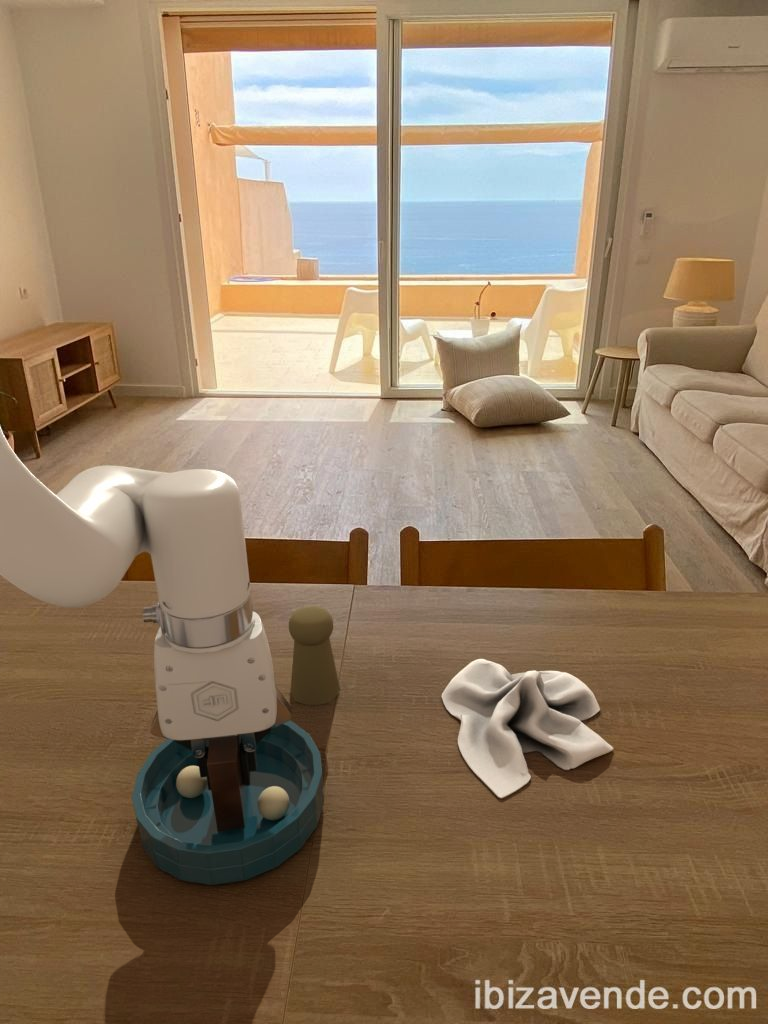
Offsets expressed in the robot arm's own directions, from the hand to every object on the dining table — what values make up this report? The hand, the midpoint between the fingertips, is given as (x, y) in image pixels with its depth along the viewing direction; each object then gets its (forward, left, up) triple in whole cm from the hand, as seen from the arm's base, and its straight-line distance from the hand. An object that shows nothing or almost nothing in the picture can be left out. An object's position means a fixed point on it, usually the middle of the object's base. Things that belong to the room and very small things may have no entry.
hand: (230, 775), depth 67 cm
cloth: (+32, +7, -4) cm, 33 cm away
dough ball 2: (+4, -2, -2) cm, 5 cm away
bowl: (0, 0, -4) cm, 4 cm away
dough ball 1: (-4, +2, -2) cm, 5 cm away
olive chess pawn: (+9, +17, -4) cm, 20 cm away
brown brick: (0, 0, -3) cm, 3 cm away
